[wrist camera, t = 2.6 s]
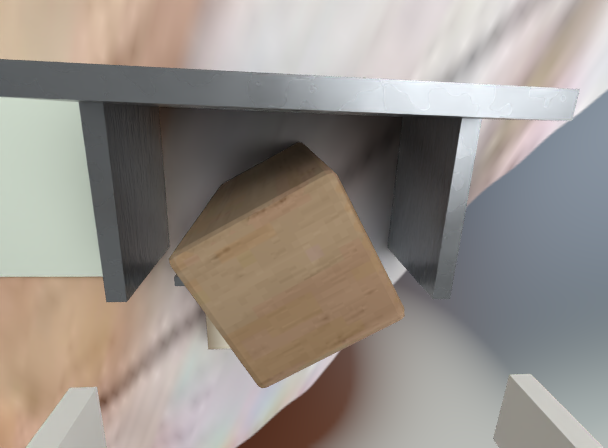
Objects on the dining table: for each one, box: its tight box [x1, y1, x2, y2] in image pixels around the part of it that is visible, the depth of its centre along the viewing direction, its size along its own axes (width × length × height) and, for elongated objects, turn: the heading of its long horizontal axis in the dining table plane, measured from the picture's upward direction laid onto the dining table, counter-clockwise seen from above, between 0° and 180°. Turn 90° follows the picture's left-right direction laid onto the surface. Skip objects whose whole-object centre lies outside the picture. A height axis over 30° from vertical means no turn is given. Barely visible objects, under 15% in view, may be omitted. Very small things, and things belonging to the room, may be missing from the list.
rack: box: [0, 59, 580, 302], centre depth 28 cm, size 28×19×20 cm
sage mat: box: [0, 97, 103, 277], centre depth 35 cm, size 17×18×1 cm
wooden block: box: [169, 142, 404, 388], centre depth 29 cm, size 10×10×20 cm
